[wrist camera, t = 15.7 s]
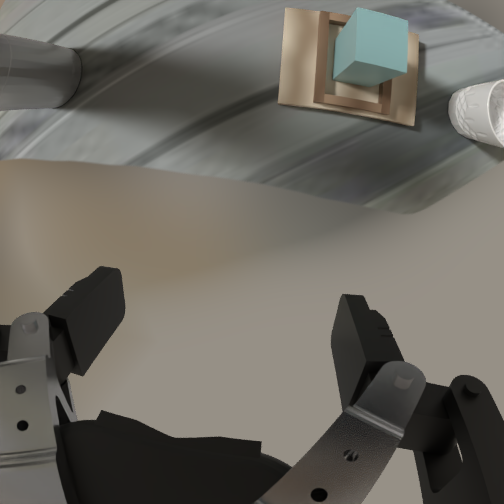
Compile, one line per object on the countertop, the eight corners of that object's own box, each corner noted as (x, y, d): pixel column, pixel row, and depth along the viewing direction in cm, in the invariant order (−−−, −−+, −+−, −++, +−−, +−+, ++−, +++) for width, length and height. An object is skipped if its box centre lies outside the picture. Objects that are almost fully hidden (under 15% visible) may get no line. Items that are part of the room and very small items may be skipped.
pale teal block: (332, 80, 30) (355, 60, 20) (334, 40, 28) (357, 7, 18) (370, 87, 30) (406, 73, 20) (372, 48, 28) (407, 20, 18)
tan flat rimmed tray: (277, 104, 33) (277, 101, 30) (285, 13, 29) (285, 2, 26) (407, 125, 33) (419, 126, 30) (412, 38, 28) (423, 31, 25)
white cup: (494, 135, 31) (539, 142, 22) (454, 148, 33) (498, 158, 24) (477, 80, 29) (523, 75, 20) (435, 90, 30) (478, 84, 21)
